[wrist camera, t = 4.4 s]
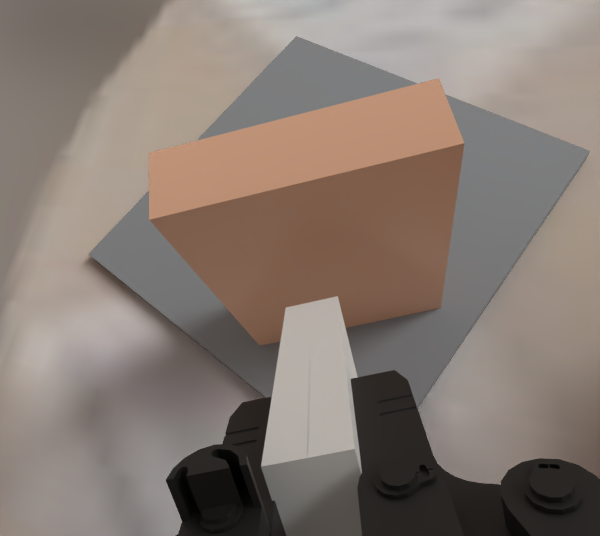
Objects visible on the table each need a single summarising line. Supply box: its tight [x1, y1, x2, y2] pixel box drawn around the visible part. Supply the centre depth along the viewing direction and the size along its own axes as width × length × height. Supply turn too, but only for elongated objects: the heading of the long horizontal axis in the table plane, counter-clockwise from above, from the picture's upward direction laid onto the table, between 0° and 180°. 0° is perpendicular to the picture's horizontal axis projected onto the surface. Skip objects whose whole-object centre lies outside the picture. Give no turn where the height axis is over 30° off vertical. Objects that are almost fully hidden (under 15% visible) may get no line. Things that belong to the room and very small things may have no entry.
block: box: [149, 78, 464, 346], centre depth 20 cm, size 3×9×12 cm, turn 98°
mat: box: [89, 36, 590, 408], centre depth 28 cm, size 20×20×1 cm
